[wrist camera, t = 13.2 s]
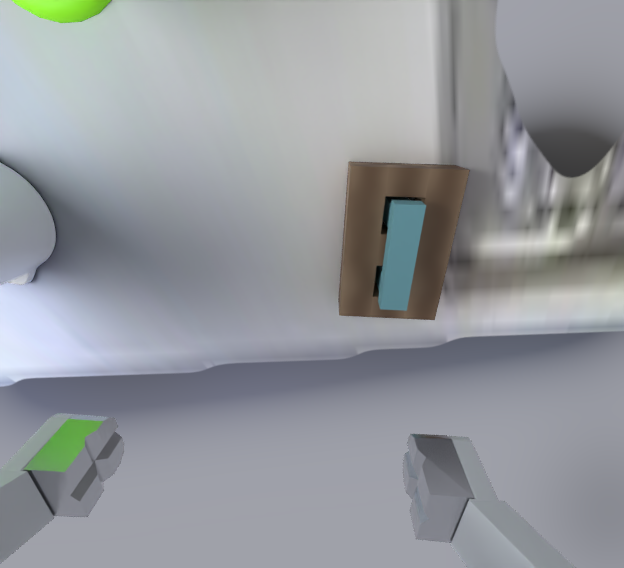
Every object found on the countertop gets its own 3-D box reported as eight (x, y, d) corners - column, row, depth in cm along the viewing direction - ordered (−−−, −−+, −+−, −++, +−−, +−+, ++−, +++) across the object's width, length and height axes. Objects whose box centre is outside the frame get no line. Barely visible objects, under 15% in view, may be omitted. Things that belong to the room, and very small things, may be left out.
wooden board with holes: (338, 299, 45) (339, 315, 41) (348, 161, 37) (350, 165, 33) (426, 304, 44) (434, 319, 41) (455, 165, 36) (469, 170, 33)
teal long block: (372, 282, 43) (380, 309, 37) (384, 190, 38) (395, 204, 32) (395, 283, 43) (406, 310, 37) (410, 191, 38) (426, 205, 32)
